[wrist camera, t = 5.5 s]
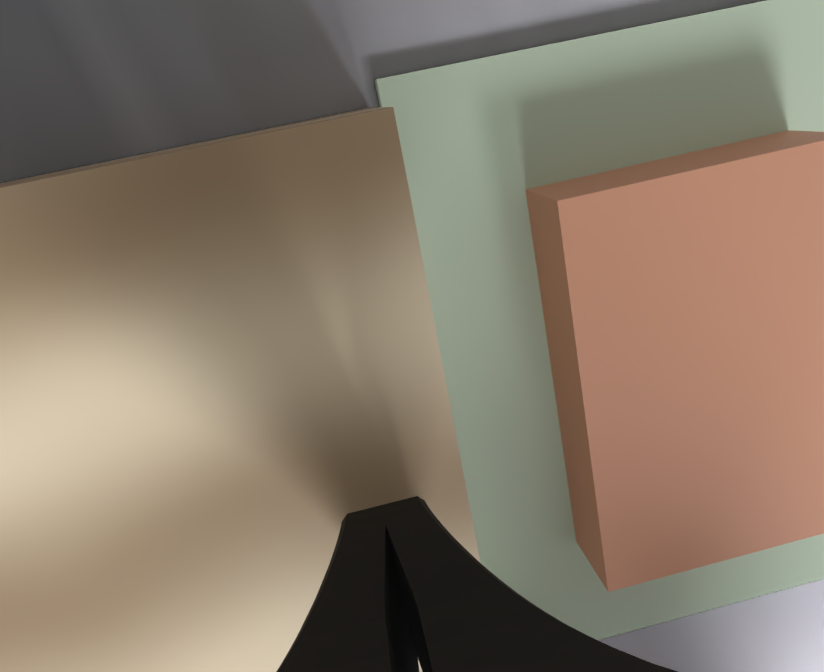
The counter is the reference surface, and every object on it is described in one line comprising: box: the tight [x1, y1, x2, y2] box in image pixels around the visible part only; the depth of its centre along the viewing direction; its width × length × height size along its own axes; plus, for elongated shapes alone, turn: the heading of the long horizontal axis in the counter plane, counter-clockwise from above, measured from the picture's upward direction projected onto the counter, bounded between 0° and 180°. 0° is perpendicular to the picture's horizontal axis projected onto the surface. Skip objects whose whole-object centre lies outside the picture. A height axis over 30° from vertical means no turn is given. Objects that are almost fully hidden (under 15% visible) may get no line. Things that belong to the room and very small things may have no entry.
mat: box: [375, 0, 824, 640], centre depth 17 cm, size 15×10×1 cm, turn 11°
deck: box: [0, 107, 480, 672], centre depth 14 cm, size 14×16×4 cm
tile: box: [526, 130, 824, 592], centre depth 16 cm, size 9×6×2 cm, turn 11°
